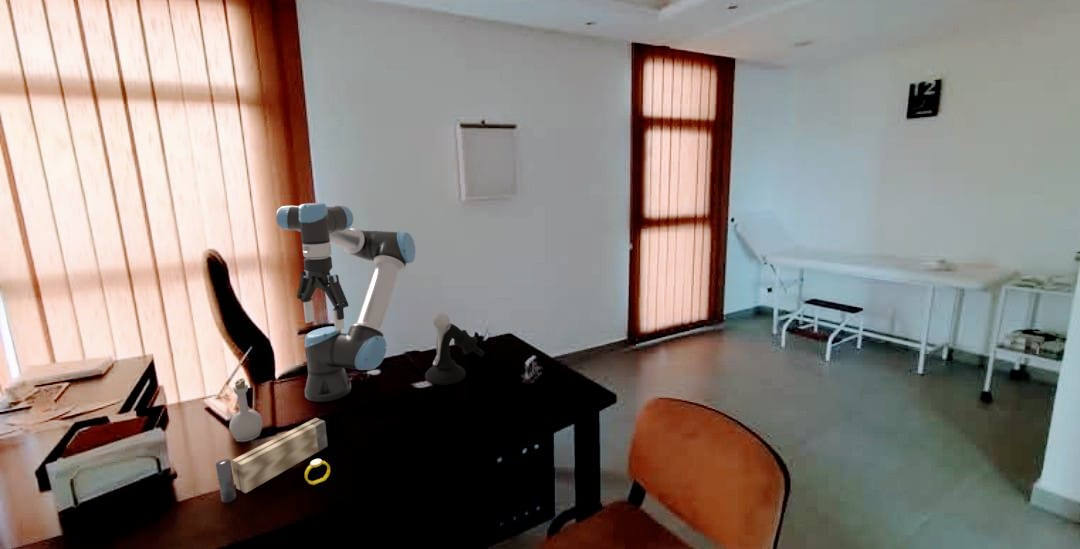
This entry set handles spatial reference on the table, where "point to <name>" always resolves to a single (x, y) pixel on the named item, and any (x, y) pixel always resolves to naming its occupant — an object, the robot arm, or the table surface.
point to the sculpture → (444, 366)
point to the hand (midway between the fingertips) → (324, 325)
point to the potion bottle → (244, 417)
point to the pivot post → (225, 480)
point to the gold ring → (315, 464)
